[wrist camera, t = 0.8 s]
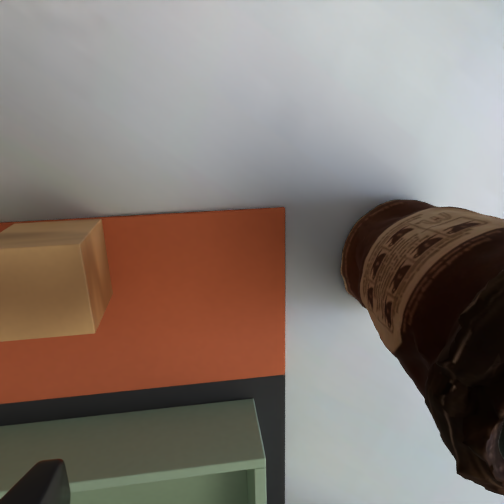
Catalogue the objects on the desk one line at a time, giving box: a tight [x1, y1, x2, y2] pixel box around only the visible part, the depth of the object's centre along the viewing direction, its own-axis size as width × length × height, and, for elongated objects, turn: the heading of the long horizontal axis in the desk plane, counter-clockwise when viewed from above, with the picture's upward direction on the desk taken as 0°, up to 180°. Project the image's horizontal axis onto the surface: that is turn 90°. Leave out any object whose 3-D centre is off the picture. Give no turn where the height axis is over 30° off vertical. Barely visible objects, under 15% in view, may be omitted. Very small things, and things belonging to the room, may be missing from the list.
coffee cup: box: [341, 200, 504, 495], centre depth 17 cm, size 9×8×13 cm
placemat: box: [0, 207, 285, 504], centre depth 24 cm, size 24×20×1 cm
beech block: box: [0, 219, 113, 342], centre depth 18 cm, size 4×4×4 cm
